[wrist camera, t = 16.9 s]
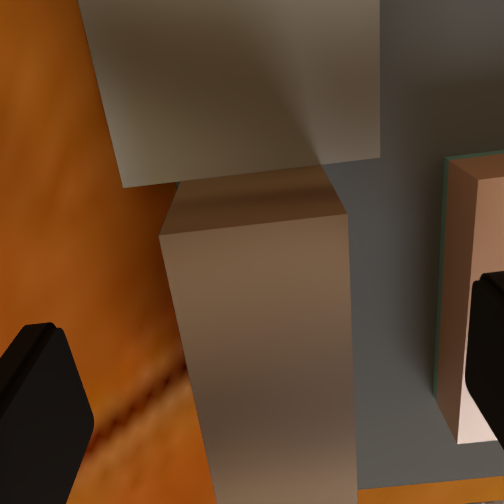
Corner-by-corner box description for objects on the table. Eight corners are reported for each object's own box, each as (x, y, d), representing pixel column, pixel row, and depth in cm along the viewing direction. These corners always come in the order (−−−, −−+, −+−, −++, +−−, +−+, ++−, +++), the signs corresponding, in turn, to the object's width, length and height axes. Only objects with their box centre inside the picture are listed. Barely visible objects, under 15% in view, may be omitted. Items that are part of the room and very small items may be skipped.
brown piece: (69, -67, 10) (-25, -118, 7) (372, -110, 10) (443, -186, 6) (188, 435, 16) (172, 550, 13) (377, 416, 16) (414, 529, 13)
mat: (238, 491, 18) (238, 501, 18) (147, 28, 11) (144, 28, 11) (674, 449, 18) (682, 458, 17) (852, -69, 11) (873, -73, 10)
